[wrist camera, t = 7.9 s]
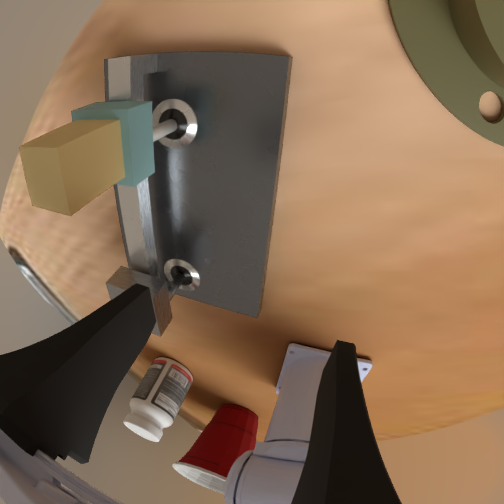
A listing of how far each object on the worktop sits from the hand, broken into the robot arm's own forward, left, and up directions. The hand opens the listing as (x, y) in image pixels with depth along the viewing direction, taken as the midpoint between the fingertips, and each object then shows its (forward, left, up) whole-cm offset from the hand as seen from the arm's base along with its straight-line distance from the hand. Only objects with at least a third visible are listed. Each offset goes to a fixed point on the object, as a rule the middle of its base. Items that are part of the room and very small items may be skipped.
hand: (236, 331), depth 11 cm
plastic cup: (-33, +2, -11) cm, 35 cm away
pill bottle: (-26, +11, -11) cm, 30 cm away
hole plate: (0, +7, -10) cm, 13 cm away
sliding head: (+5, +9, -9) cm, 14 cm away
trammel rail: (0, +9, -9) cm, 13 cm away
